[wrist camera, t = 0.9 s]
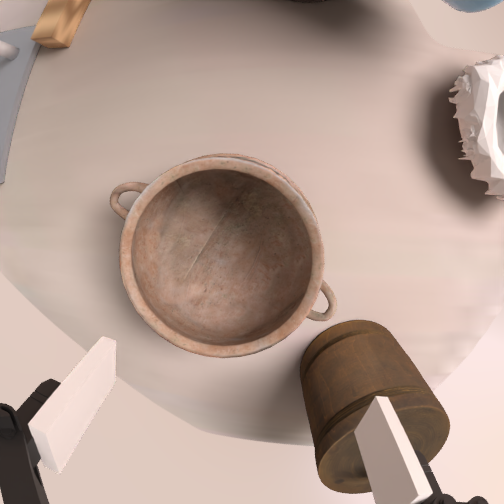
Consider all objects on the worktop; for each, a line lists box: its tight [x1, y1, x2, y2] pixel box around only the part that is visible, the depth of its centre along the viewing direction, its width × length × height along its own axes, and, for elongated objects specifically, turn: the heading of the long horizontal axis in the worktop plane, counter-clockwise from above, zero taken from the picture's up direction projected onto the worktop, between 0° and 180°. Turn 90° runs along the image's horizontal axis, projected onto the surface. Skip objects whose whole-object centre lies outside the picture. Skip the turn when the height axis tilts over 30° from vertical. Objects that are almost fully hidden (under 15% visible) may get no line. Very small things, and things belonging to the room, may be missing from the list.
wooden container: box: [300, 320, 450, 494], centre depth 30 cm, size 15×15×22 cm
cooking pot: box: [110, 154, 337, 358], centre depth 31 cm, size 25×19×12 cm
